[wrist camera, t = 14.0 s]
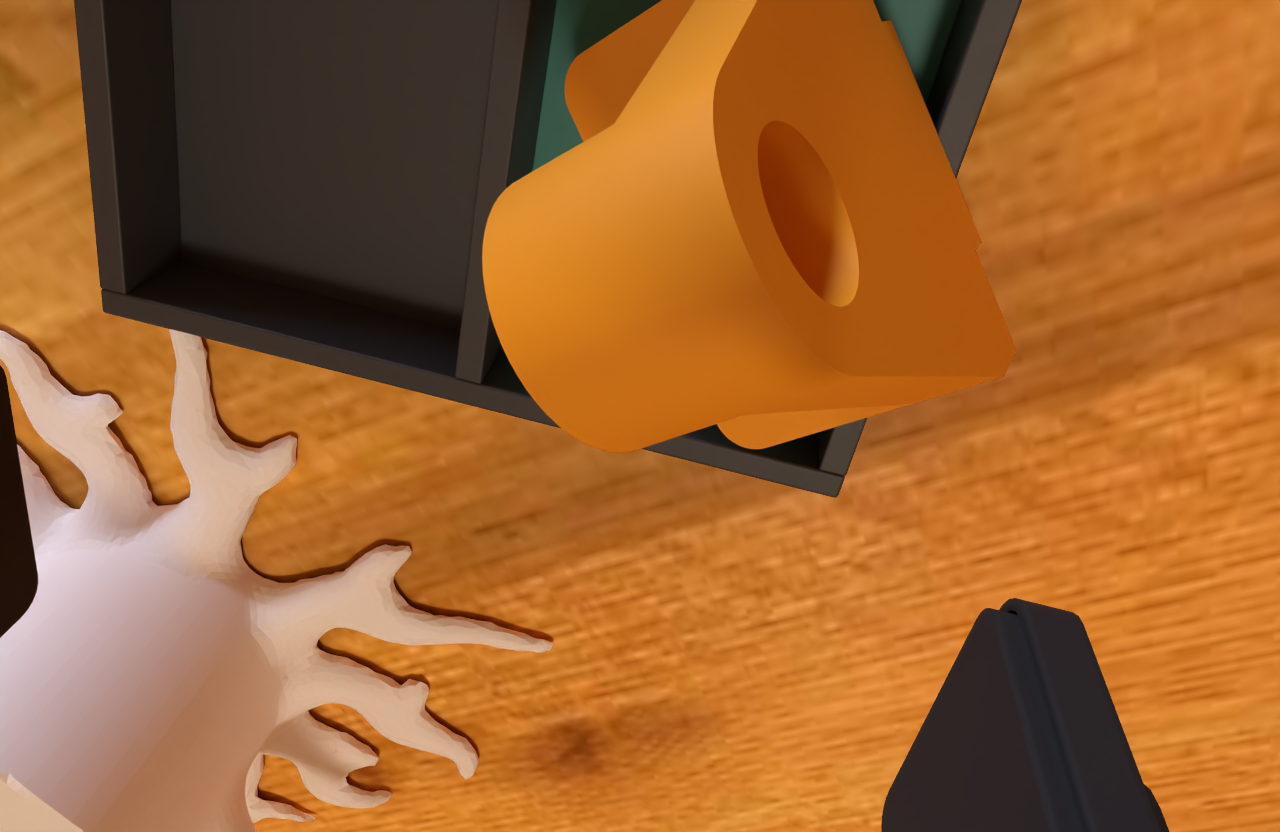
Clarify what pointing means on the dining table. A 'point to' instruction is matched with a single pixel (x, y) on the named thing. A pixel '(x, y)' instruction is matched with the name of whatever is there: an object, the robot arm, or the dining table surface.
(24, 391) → the tree stump
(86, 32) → the tray
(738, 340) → the bracket
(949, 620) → the dining table surface
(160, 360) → the dining table surface
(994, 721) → the robot arm
